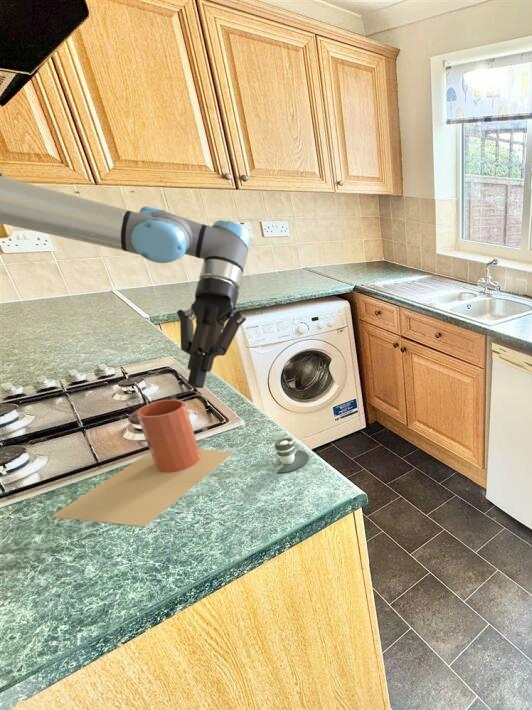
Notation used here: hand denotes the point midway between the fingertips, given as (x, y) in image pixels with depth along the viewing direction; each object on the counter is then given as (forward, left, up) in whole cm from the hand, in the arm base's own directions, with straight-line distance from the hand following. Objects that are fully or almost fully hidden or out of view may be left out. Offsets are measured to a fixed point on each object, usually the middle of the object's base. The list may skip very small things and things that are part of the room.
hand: (195, 385), depth 85 cm
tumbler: (0, -9, -13) cm, 15 cm away
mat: (0, -15, -13) cm, 20 cm away
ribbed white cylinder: (+20, -5, -13) cm, 25 cm away
